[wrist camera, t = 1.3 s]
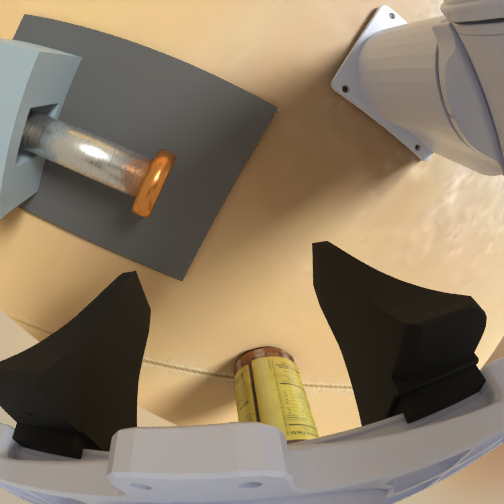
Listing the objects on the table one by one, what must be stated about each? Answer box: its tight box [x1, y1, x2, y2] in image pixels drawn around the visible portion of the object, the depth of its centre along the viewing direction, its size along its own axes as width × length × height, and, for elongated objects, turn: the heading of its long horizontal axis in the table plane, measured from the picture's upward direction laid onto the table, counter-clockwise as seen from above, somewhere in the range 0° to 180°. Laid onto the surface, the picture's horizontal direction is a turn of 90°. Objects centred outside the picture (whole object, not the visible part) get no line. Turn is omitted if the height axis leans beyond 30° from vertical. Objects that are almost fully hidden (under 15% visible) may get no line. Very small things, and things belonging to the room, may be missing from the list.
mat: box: [13, 14, 278, 281], centre depth 17 cm, size 20×14×1 cm
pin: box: [19, 109, 178, 219], centre depth 15 cm, size 11×4×4 cm, turn 61°
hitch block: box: [0, 39, 82, 219], centre depth 13 cm, size 6×10×6 cm, turn 151°
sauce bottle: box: [234, 347, 319, 444], centre depth 20 cm, size 6×6×20 cm
